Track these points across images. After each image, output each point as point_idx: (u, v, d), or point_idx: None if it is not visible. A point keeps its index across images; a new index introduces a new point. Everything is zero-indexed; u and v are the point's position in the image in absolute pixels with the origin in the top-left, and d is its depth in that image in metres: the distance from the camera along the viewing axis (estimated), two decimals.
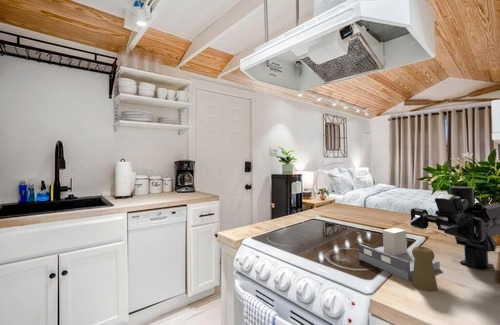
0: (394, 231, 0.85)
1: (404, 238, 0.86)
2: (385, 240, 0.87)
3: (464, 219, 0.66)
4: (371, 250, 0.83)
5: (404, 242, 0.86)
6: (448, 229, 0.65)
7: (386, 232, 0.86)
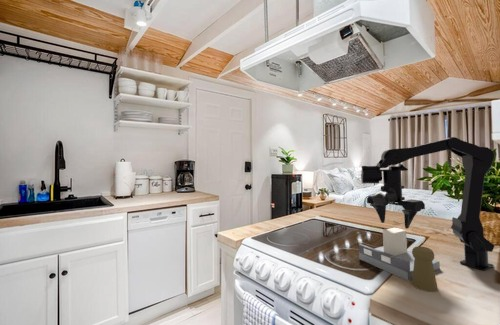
0: (394, 231, 0.85)
1: (404, 238, 0.86)
2: (385, 240, 0.87)
3: (405, 211, 0.80)
4: (371, 250, 0.83)
5: (404, 242, 0.86)
6: (407, 226, 0.82)
7: (386, 232, 0.86)
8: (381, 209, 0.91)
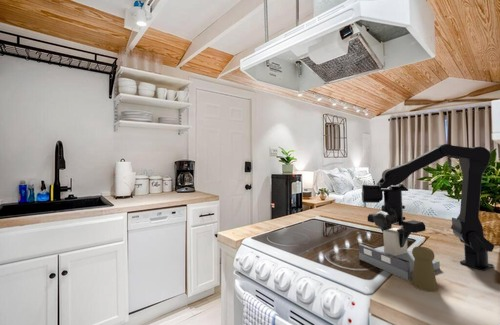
0: (395, 231, 0.85)
1: None
2: (385, 240, 0.87)
3: (400, 231, 0.82)
4: (371, 250, 0.83)
5: None
6: (401, 245, 0.84)
7: (386, 232, 0.86)
8: None
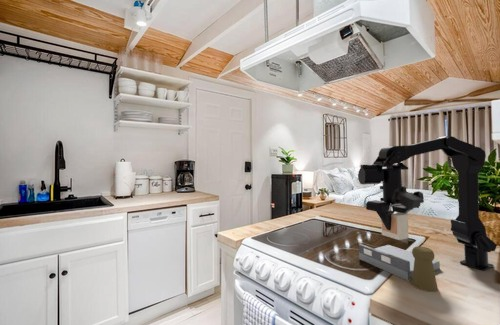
0: (399, 213, 0.79)
1: None
2: (400, 226, 0.77)
3: (409, 210, 0.79)
4: (371, 250, 0.83)
5: None
6: None
7: (401, 216, 0.77)
8: None
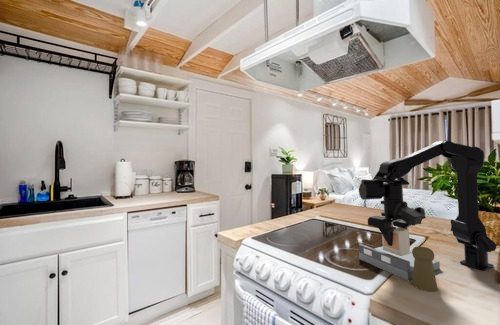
0: (400, 228, 0.79)
1: None
2: (402, 242, 0.76)
3: (410, 225, 0.79)
4: (371, 250, 0.83)
5: None
6: None
7: (403, 232, 0.77)
8: None
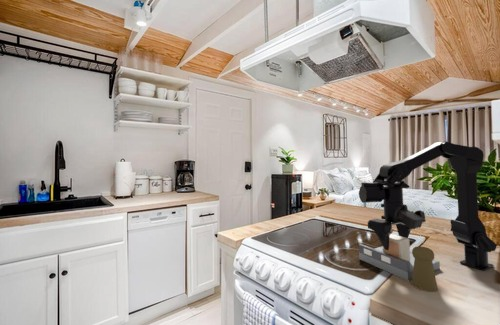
0: (401, 237, 0.79)
1: None
2: (402, 251, 0.76)
3: None
4: (371, 250, 0.83)
5: None
6: None
7: (403, 241, 0.77)
8: None
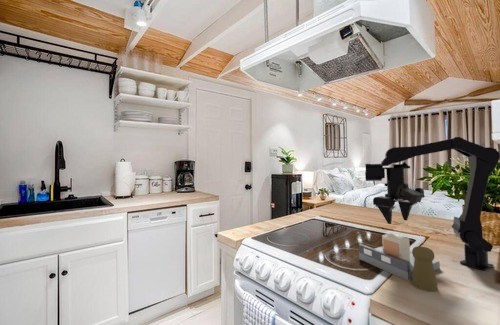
0: (401, 237, 0.79)
1: None
2: (402, 251, 0.76)
3: (414, 204, 0.89)
4: (371, 250, 0.83)
5: None
6: None
7: (403, 241, 0.77)
8: None
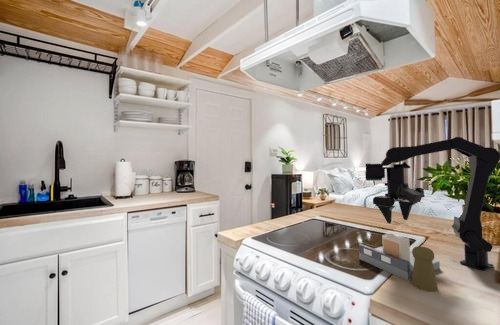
0: (401, 237, 0.79)
1: None
2: (402, 251, 0.76)
3: (414, 203, 0.89)
4: (371, 250, 0.83)
5: None
6: None
7: (403, 241, 0.77)
8: None
